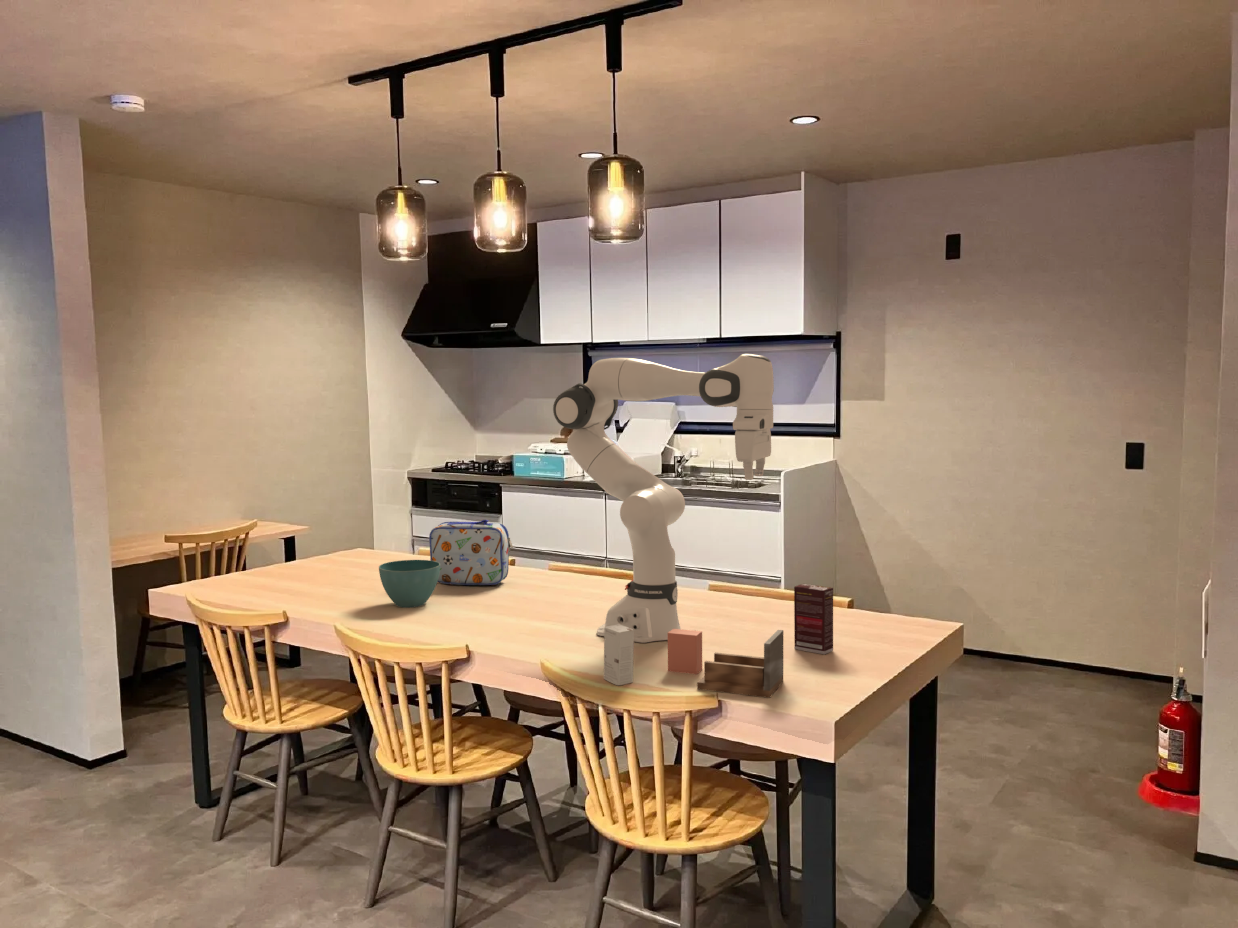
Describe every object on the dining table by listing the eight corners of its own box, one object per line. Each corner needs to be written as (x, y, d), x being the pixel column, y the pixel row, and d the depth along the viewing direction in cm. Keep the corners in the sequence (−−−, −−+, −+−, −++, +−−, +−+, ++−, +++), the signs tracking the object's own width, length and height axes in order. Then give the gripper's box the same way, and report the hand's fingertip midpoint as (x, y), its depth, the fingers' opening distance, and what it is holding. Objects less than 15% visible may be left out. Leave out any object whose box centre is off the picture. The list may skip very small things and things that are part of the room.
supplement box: (834, 650, 234) (834, 587, 233) (824, 655, 230) (824, 590, 229) (802, 644, 239) (803, 582, 238) (793, 649, 236) (793, 586, 234)
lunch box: (515, 581, 323) (514, 516, 321) (508, 587, 312) (506, 521, 310) (437, 579, 326) (435, 516, 324) (427, 586, 316) (425, 520, 314)
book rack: (697, 688, 206) (696, 636, 205) (714, 673, 217) (713, 623, 216) (769, 697, 200) (769, 643, 199) (783, 681, 211) (783, 630, 210)
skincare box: (602, 679, 213) (602, 626, 212) (619, 675, 216) (618, 623, 215) (618, 686, 208) (617, 632, 207) (635, 682, 211) (634, 628, 210)
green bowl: (448, 598, 298) (447, 559, 297) (431, 612, 280) (429, 570, 279) (391, 597, 299) (390, 559, 298) (371, 611, 281) (369, 570, 280)
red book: (667, 670, 219) (667, 632, 218) (673, 666, 223) (673, 628, 222) (696, 674, 216) (696, 635, 216) (702, 669, 220) (702, 631, 219)
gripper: (753, 419, 242) (752, 473, 243) (730, 422, 223) (730, 481, 224) (777, 419, 239) (777, 474, 240) (757, 423, 220) (756, 482, 222)
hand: (754, 477), depth 232 cm, fingers open, 8 cm apart
